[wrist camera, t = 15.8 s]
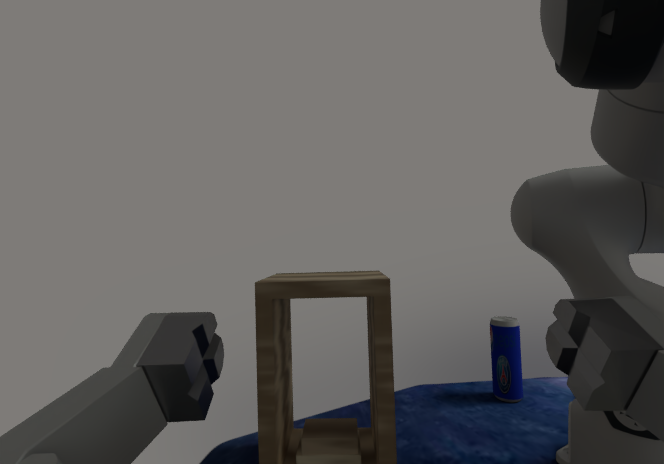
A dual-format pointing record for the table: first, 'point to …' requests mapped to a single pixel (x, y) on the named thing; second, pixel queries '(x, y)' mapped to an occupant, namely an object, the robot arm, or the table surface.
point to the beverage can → (506, 359)
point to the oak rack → (277, 360)
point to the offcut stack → (329, 442)
